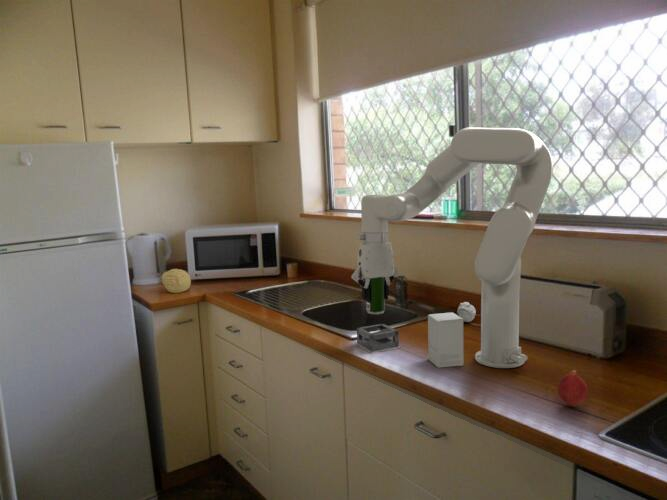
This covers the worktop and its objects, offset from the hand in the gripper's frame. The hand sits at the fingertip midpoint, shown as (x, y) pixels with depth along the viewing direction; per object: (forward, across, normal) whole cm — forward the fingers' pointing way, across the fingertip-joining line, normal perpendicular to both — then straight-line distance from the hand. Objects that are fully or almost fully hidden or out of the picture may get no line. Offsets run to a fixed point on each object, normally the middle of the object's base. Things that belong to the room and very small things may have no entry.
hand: (375, 299), depth 155 cm
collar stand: (+14, 0, 0) cm, 14 cm away
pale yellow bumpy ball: (+16, -41, +115) cm, 123 cm away
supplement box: (+14, +9, -21) cm, 27 cm away
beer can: (+4, 0, 0) cm, 4 cm away
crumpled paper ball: (+14, +38, +7) cm, 41 cm away
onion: (+14, +16, -56) cm, 60 cm away
